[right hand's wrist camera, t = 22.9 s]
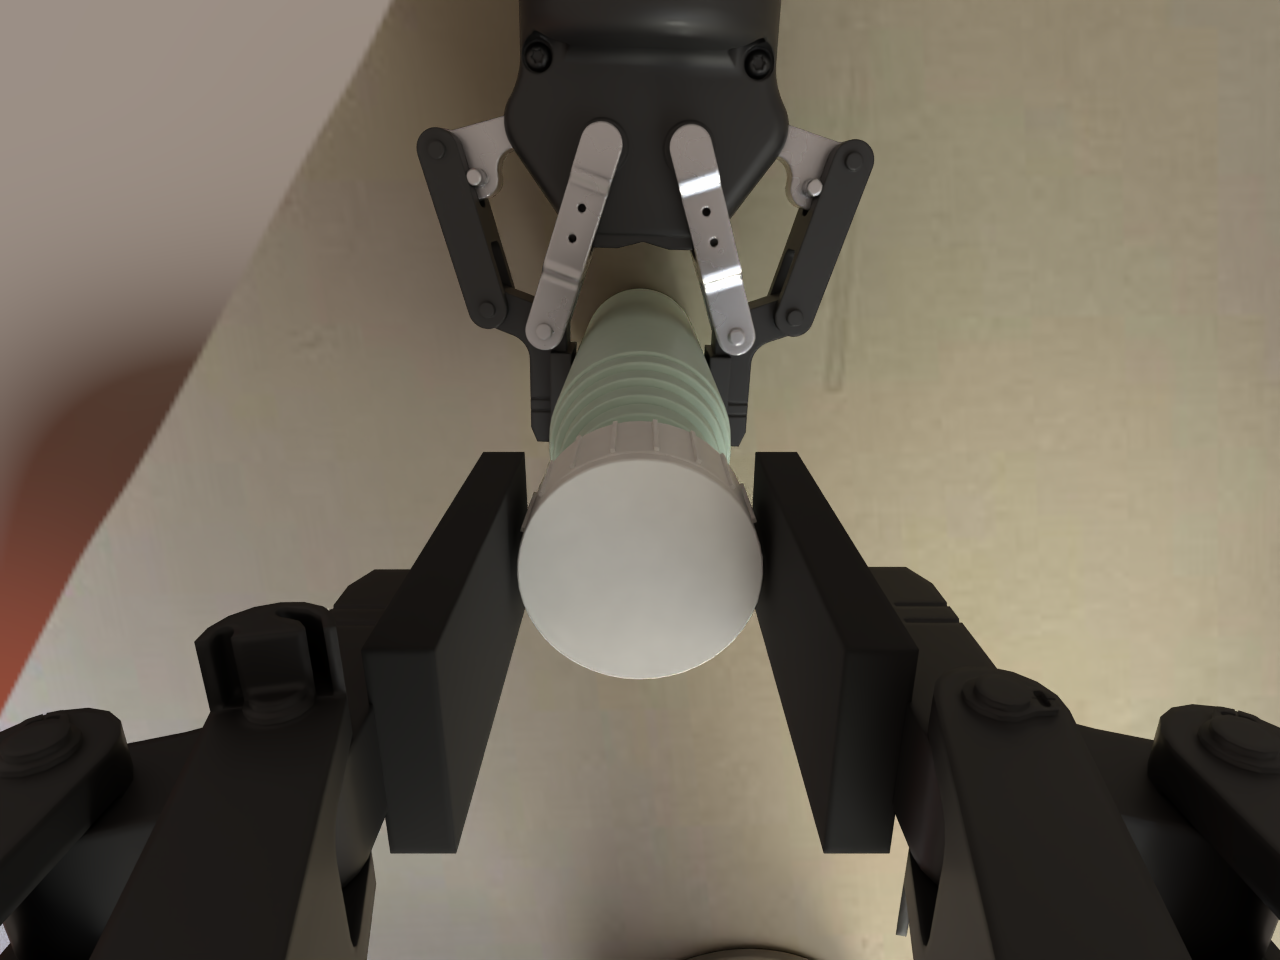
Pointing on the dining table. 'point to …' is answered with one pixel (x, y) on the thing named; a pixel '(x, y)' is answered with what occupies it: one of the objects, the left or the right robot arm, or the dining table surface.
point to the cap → (639, 552)
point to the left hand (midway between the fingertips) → (636, 451)
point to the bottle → (639, 374)
